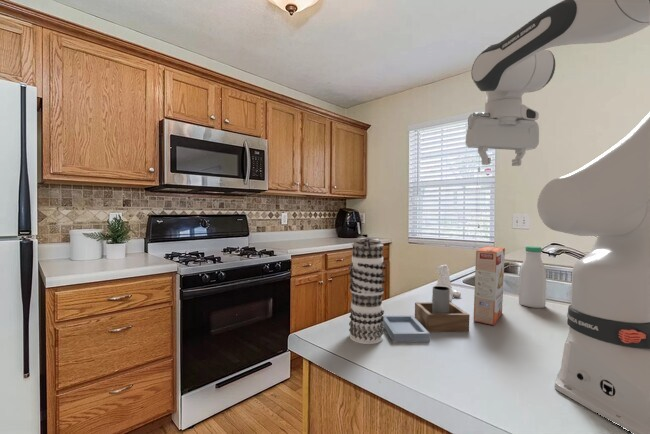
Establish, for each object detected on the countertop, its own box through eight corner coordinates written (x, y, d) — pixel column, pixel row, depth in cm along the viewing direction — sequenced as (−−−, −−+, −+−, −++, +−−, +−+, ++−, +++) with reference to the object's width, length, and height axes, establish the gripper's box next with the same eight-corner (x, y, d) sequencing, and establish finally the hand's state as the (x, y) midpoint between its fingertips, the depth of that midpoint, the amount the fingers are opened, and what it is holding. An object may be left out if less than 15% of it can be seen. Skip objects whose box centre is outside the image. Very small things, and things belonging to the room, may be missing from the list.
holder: (469, 331, 85) (469, 314, 85) (428, 331, 84) (428, 314, 84) (450, 317, 96) (451, 302, 96) (414, 317, 95) (415, 302, 95)
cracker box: (495, 326, 89) (498, 251, 88) (472, 321, 92) (474, 249, 92) (504, 313, 100) (505, 247, 99) (482, 309, 103) (484, 245, 103)
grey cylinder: (450, 327, 87) (451, 290, 87) (433, 326, 88) (433, 289, 88) (447, 321, 92) (448, 286, 92) (430, 320, 93) (431, 285, 93)
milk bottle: (550, 308, 105) (552, 248, 105) (527, 308, 105) (529, 248, 105) (535, 301, 113) (537, 245, 112) (513, 301, 113) (515, 245, 112)
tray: (429, 341, 78) (429, 333, 78) (393, 341, 78) (393, 333, 78) (412, 322, 91) (412, 315, 91) (381, 322, 91) (381, 315, 91)
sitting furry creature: (449, 302, 111) (450, 268, 111) (427, 296, 118) (428, 264, 118) (462, 297, 118) (463, 265, 117) (440, 292, 124) (441, 261, 124)
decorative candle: (392, 338, 80) (394, 238, 79) (368, 348, 74) (369, 241, 73) (365, 327, 87) (366, 236, 86) (340, 336, 81) (341, 237, 80)
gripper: (476, 108, 82) (474, 162, 83) (544, 113, 86) (542, 165, 86) (461, 115, 88) (460, 165, 89) (525, 119, 92) (524, 167, 93)
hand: (501, 165), depth 88 cm, fingers open, 8 cm apart
